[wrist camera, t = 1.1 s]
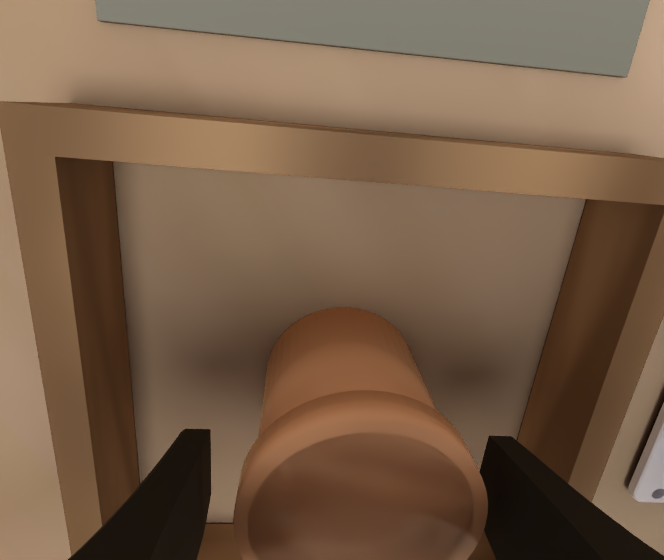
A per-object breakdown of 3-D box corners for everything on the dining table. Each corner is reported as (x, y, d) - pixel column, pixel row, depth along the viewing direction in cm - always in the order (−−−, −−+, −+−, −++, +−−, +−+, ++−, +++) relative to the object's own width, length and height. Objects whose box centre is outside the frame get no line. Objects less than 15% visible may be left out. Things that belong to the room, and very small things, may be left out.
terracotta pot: (432, 303, 15) (513, 424, 9) (407, 441, 17) (461, 609, 11) (261, 294, 14) (234, 415, 9) (256, 437, 16) (231, 611, 10)
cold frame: (632, 153, 13) (721, 166, 10) (509, 543, 19) (546, 619, 16) (68, 103, 12) (-5, 101, 9) (117, 541, 17) (83, 624, 15)
